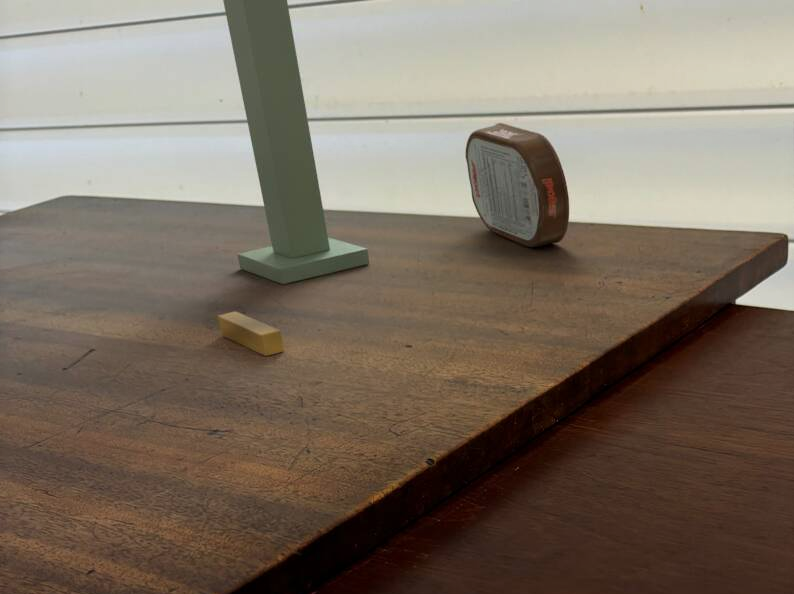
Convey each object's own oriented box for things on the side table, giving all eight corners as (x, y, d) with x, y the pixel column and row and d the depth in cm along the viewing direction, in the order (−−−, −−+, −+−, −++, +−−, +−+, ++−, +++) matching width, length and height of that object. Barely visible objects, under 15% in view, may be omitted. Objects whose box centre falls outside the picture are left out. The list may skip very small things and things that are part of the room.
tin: (575, 251, 95) (568, 135, 90) (540, 257, 94) (532, 141, 89) (499, 221, 106) (489, 117, 102) (467, 226, 105) (456, 122, 100)
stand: (222, 262, 100) (118, -201, 82) (305, 244, 104) (223, -203, 86) (302, 292, 90) (204, -228, 72) (391, 270, 94) (319, -229, 76)
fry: (222, 335, 82) (217, 315, 81) (240, 331, 83) (235, 310, 82) (265, 356, 77) (261, 335, 77) (284, 351, 78) (280, 330, 77)
